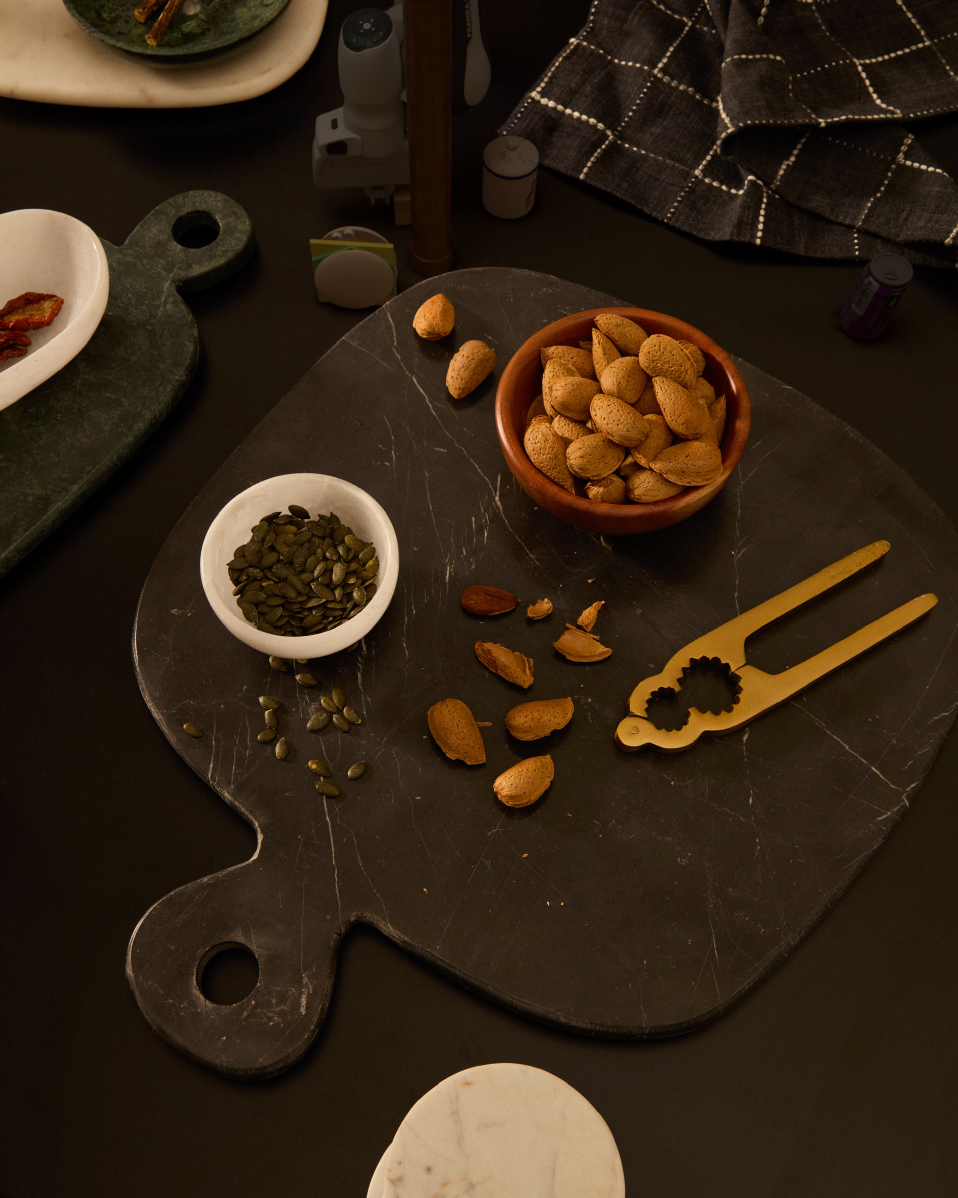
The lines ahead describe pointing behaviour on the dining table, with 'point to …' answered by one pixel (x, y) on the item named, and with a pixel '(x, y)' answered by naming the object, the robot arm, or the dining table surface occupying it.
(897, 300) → the beverage can
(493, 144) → the teacup with lid
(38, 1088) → the dining table surface
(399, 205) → the maple block
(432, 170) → the pepper mill
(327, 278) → the hamburger
